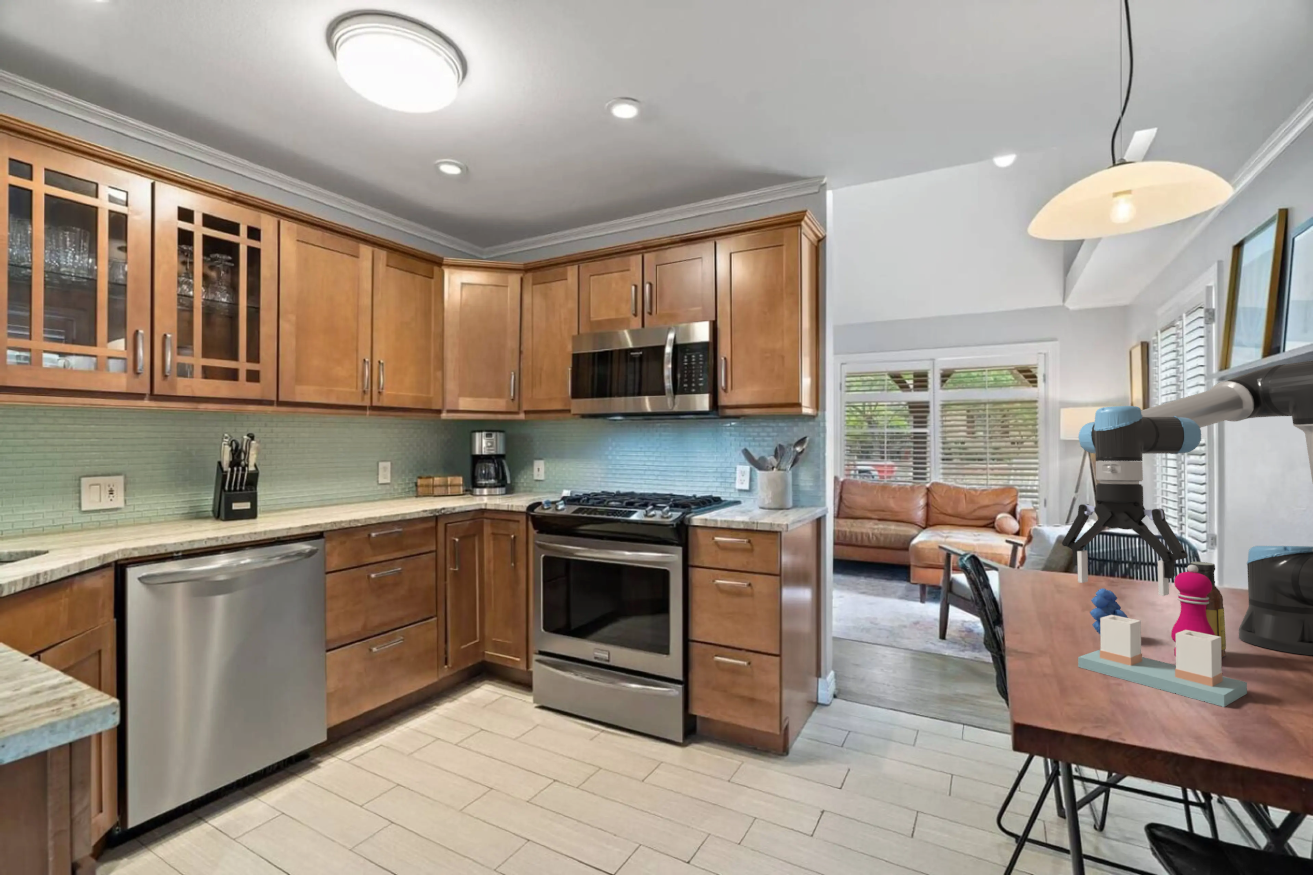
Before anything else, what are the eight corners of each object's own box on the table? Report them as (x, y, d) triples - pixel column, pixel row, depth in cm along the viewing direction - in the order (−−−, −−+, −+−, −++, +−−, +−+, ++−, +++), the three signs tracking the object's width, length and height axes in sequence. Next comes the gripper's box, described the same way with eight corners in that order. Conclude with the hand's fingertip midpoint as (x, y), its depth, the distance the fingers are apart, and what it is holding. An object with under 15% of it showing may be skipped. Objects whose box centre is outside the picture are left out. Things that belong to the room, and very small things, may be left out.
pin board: (1105, 657, 126) (1104, 628, 126) (1247, 693, 107) (1246, 659, 107) (1078, 666, 120) (1078, 636, 120) (1224, 706, 101) (1223, 671, 101)
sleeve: (1111, 653, 122) (1111, 614, 123) (1142, 661, 118) (1141, 620, 118) (1099, 657, 119) (1099, 617, 120) (1130, 665, 115) (1130, 624, 115)
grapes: (1118, 648, 133) (1117, 594, 133) (1083, 639, 138) (1083, 588, 139) (1138, 639, 139) (1137, 588, 139) (1104, 632, 145) (1103, 583, 145)
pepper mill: (1177, 661, 124) (1176, 565, 125) (1167, 651, 131) (1165, 560, 131) (1222, 667, 121) (1221, 569, 122) (1210, 657, 127) (1208, 563, 128)
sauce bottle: (1210, 650, 132) (1208, 560, 133) (1234, 659, 126) (1233, 565, 127) (1178, 648, 133) (1177, 559, 134) (1201, 657, 127) (1200, 564, 127)
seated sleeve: (1185, 672, 112) (1185, 629, 112) (1222, 681, 108) (1221, 636, 108) (1175, 676, 109) (1174, 633, 110) (1212, 686, 105) (1211, 640, 105)
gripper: (1043, 480, 128) (1044, 578, 128) (1191, 485, 107) (1195, 603, 107) (1060, 480, 132) (1061, 575, 132) (1206, 484, 111) (1209, 598, 110)
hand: (1121, 588), depth 119 cm, fingers open, 13 cm apart
